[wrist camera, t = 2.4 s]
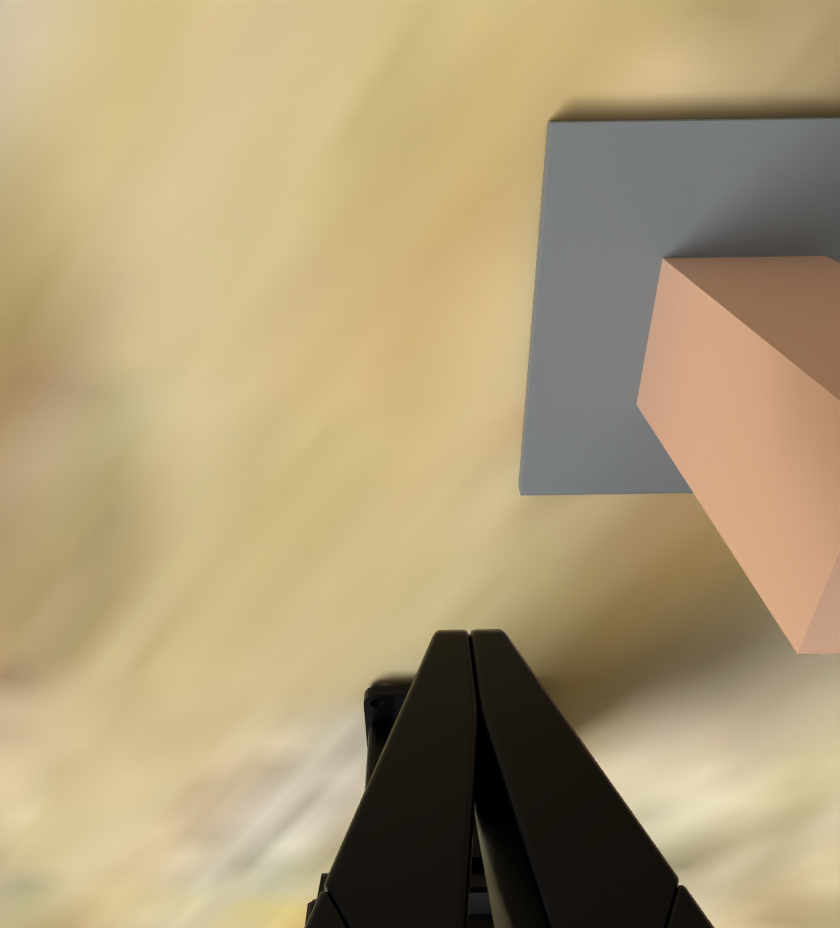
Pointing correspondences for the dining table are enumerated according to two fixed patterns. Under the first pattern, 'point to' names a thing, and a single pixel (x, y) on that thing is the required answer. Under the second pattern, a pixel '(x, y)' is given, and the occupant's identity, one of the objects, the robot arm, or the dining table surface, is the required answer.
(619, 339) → the slate mat
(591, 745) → the dining table surface
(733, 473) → the terracotta block
